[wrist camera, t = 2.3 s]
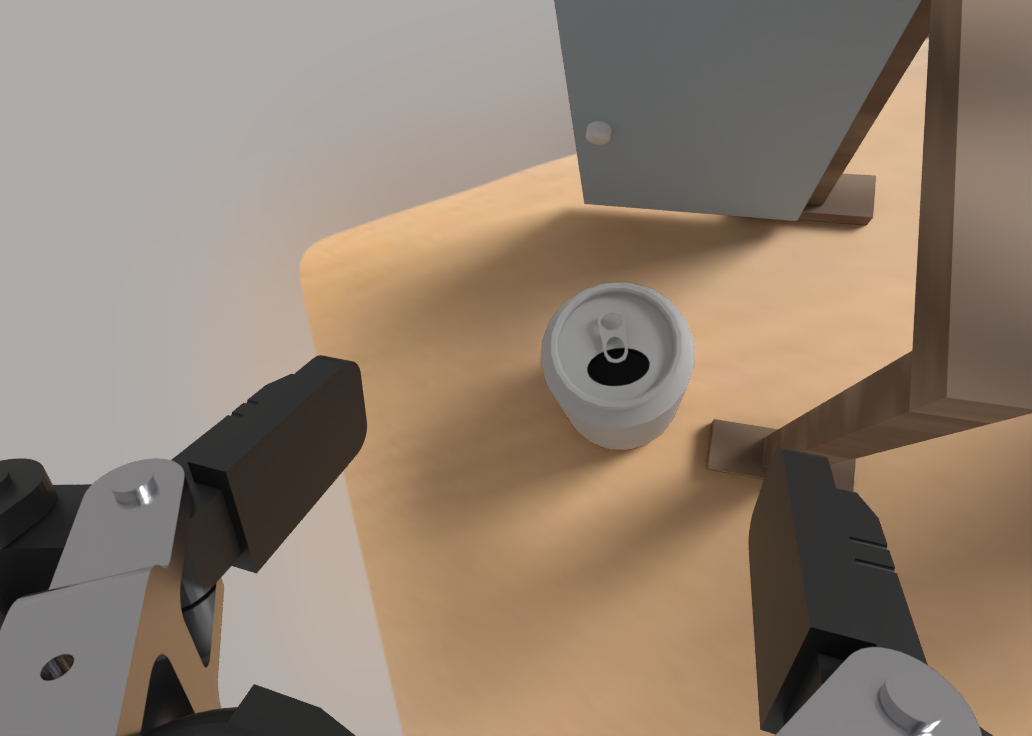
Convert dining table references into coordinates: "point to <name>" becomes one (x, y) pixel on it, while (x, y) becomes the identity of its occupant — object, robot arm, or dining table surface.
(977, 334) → the door frame
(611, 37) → the door
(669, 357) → the can
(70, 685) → the robot arm
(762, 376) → the dining table surface
